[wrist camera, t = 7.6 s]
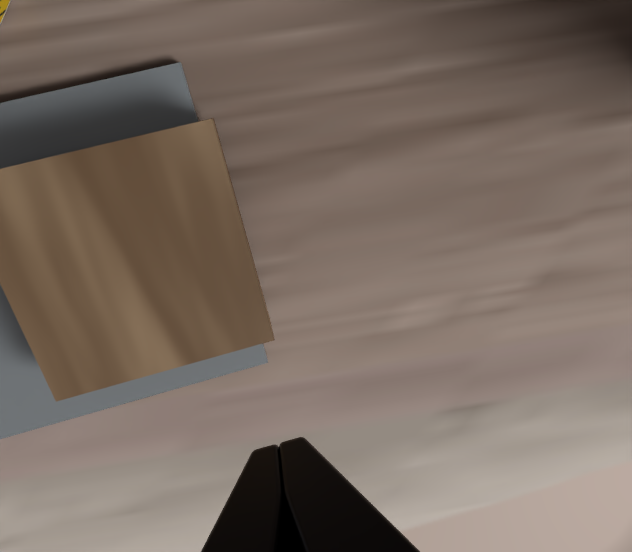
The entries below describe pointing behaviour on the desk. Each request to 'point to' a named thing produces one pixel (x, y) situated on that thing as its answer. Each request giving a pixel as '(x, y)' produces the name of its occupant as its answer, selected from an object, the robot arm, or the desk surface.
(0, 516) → the desk surface
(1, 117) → the mat
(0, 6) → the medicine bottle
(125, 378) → the tile
